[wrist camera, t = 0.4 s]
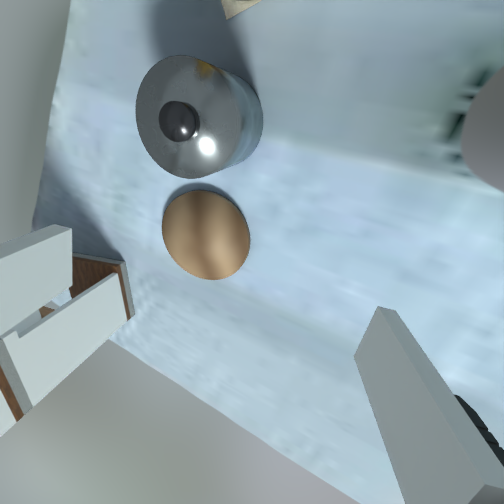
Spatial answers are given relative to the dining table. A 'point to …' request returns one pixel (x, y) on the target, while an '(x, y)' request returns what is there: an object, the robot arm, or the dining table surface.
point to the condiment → (236, 6)
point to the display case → (62, 335)
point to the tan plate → (206, 234)
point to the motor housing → (197, 117)
